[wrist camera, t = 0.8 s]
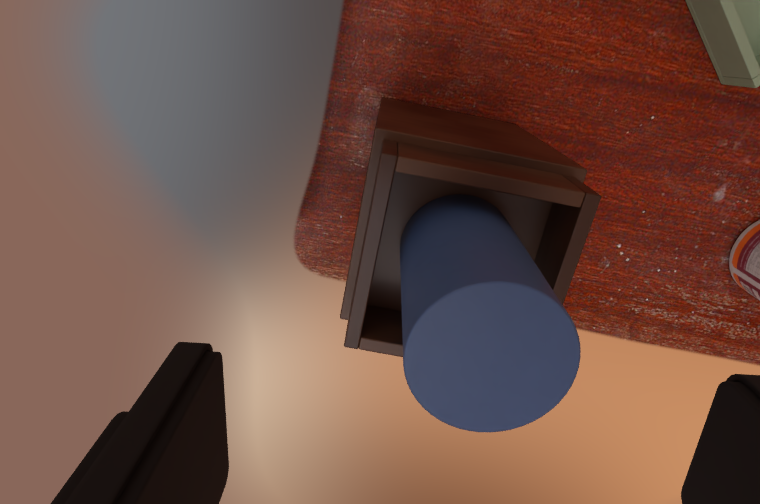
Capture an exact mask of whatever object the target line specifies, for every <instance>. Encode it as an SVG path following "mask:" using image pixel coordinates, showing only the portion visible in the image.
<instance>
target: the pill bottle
mask: <svg viewBox="0 0 760 504" xmlns="http://www.w3.org/2000/svg"><path fill="white" fill-rule="evenodd" d="M729 268H730V272H731V275H732V277H733V279H734V281H735V282H736V283H737V284H738V285H739V286H740V287H741V288H743V289H744V290H745V291H747V292H748V293H749V294H751V295H752V296H754V297H755V298H757V299H758V300H760V220H759V221H756V222H755V223H753V224H752V225H750V226H749V227H748V228H747V229H745V230H744V231H743V232H742V233H741V234H740V236H739V237H738V238H737V240H736V242H735V243H734V245H733V247H732V250H731V252H730V257H729Z"/></svg>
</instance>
